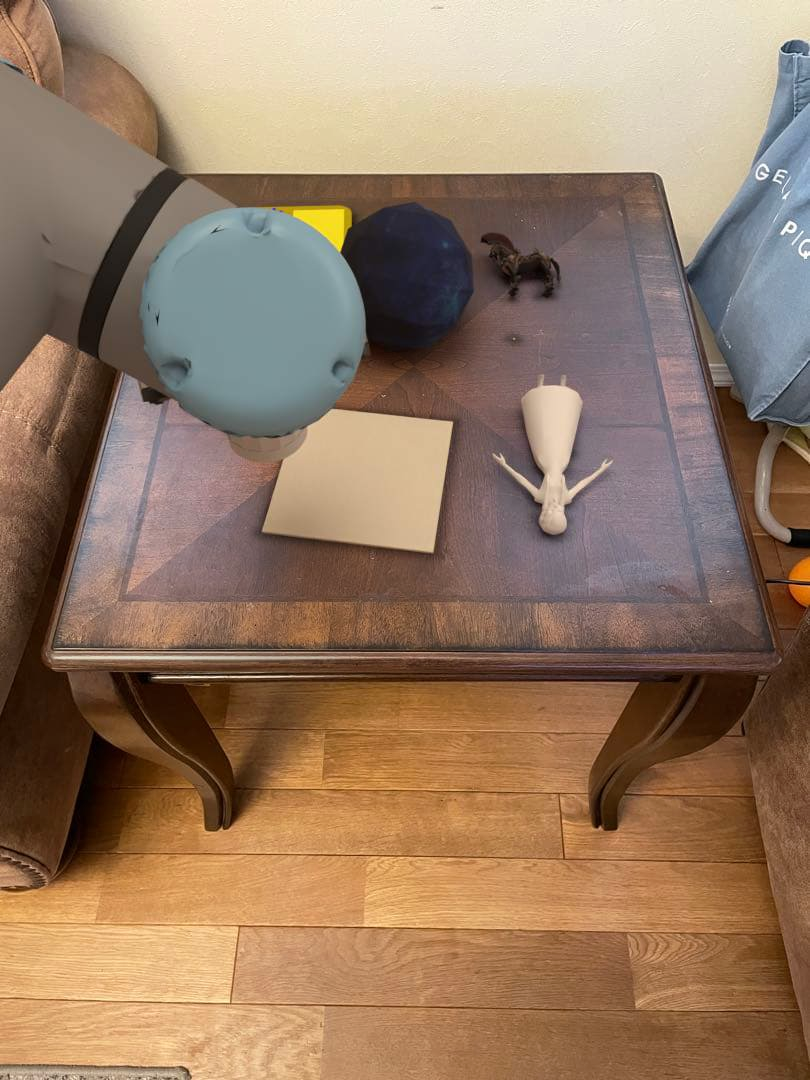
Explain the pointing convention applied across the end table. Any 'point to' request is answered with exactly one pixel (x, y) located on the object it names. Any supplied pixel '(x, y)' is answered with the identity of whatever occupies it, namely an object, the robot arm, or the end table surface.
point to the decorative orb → (409, 275)
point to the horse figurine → (520, 262)
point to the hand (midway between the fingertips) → (252, 368)
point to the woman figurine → (551, 448)
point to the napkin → (364, 482)
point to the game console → (323, 220)
